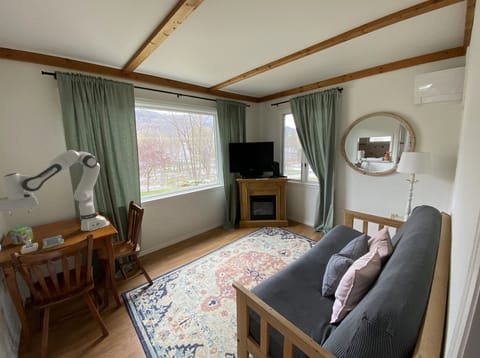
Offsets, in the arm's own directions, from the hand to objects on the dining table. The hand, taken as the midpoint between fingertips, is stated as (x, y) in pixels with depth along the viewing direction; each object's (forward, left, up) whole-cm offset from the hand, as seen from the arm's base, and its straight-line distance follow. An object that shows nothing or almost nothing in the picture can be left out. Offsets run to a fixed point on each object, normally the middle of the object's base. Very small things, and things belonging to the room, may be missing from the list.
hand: (20, 213), depth 150 cm
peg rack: (-14, +1, -29) cm, 32 cm away
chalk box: (+7, -22, -29) cm, 37 cm away
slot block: (0, 0, -29) cm, 29 cm away
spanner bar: (-14, 0, -28) cm, 31 cm away
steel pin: (0, 0, -29) cm, 29 cm away
